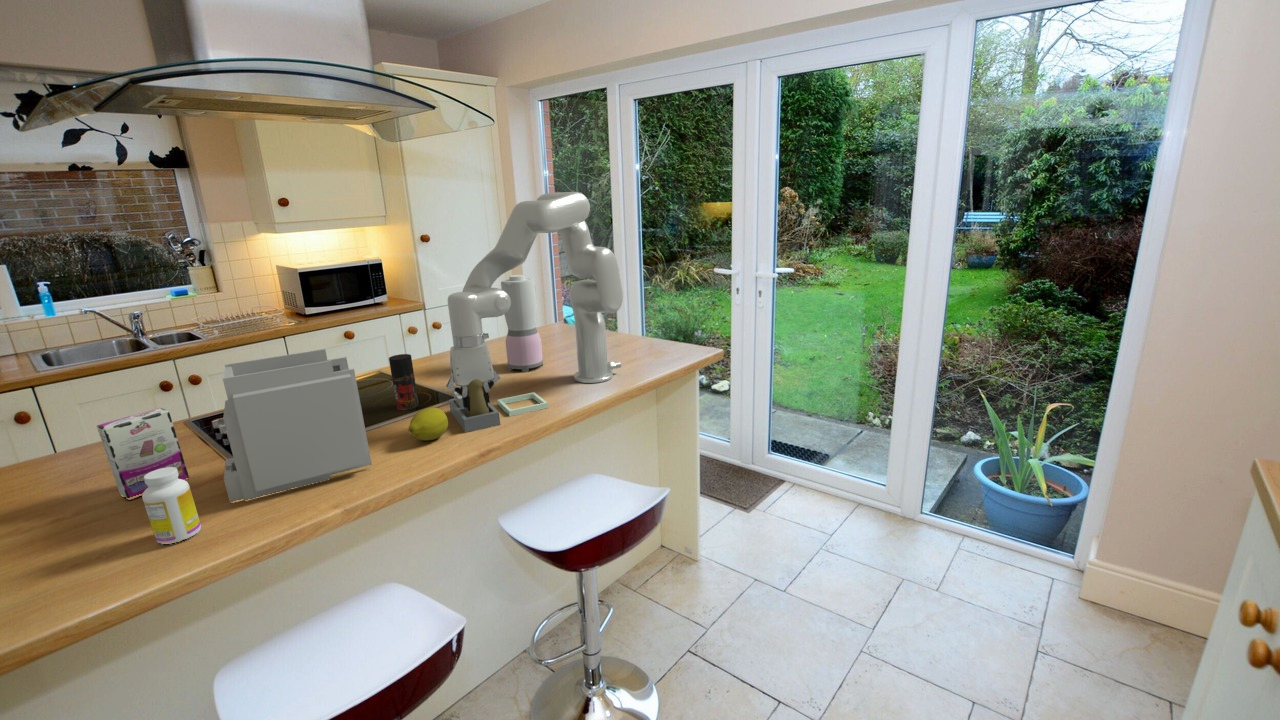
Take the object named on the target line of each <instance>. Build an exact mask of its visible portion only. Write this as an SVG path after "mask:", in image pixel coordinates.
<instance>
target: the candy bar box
mask: <svg viewBox="0 0 1280 720" xmlns="http://www.w3.org/2000/svg"><path fill="white" fill-rule="evenodd" d="M96 429H97V432H98V434H99V436H100V440H101V443H102V446H103V449H104V451H105V452H104V453H105V454H106V457H107V460H108V463H109V466H110V469H111V472H112V475H113V478H114V481H115V483H116V487H117V489H118V492H119V495H120V494H122V495H123V496H125V497H126V498H130V497H133V496H136V495H139V494H142V493H143V492H144V491H145V490H146V489H147V488H148V486H147V484H145V481H144V476H145V475H146V474H148V473H150V472H152V471H154V470H157V469H161V468H167V467H175V468H177V471H178V473H179V475H178V479H182V480H184V479H186V478H189V479H190V476H189V472H188V469H187V466H186V462H185V459H184V456H183V452H182V450H181V447H180V443H179V440H178V436H177V432H176V430H175V426H174V423H173V420H172V417H171V412H170V411H169V410H167V409H164V408H163V407H158V408H155V409H151V410H147V411H144V412H141V413H136V414H131V415H130V416H129V415H128V416H126V417H121V418H119V419H115V420H111V421H109V422H108V421H107V422H103V423H101V424H98V425H96Z"/></svg>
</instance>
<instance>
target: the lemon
mask: <svg viewBox="0 0 1280 720" xmlns="http://www.w3.org/2000/svg"><path fill="white" fill-rule="evenodd" d="M448 427H449V421H448V417H447V415H446V412H444V411H443V410H442V409H440V408H438V407H427V408H423V409H421V410H420V411H418V412H417V413H416V414H414V416H413V417H412V418H411V420H410V423H409V426H408V432H409V433H410V435H411V436H413V437H414V438H415V439H418V440H420V441H433V440H436V439H438V438H440V437H441V436H442V435H444V434H445V432H446V431H447V429H448Z"/></svg>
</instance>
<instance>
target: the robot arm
mask: <svg viewBox="0 0 1280 720" xmlns="http://www.w3.org/2000/svg"><path fill="white" fill-rule="evenodd" d="M590 211H591V204H590V200H589V199H588V198H587V196H586V195H584V194H583V193H582V192H579V191H565V192H563V191H561V192H557V191H556V192H547V193H543V194H541V195H540V196H539V197H537V199H536V200H525V201H520V202H518V203H517V204H516V205H515V206H514V207H513V209H512V210H511V213H510V215H509V217H508V219H507V221H506V224H505V225H504V228H503V229H502V233H501V235H500V236H499V238H498V240H497V243H496V245H495V247H494V248H493V249H492V250H491V251H489V252H488V253H487V254H486V255H485V256H484V257H483V258H482V259H481V260H480V261H479V262H478V263H477V264H476V265H475V266H474V268H473V269H472V270H471V272H470V273H469V275H468V277H467V279H466V282H465V283H464V286H463V288H462V291H458V292H453V293H451V294H449V295H448V297H447V307H448V315H449V321H450V329H451V335H452V336H451V337H452V345H453V346H451V347H450V350H449V362H450V363H449V364H450V366H449V367H450V378H449V379H448V382H447V383H446V385H445V387H446V389H447V390H450V391H453V392H457V393H458V394H460V395H461V396H462V400H463V406H464V408H466V407H467V409H468V411H470V398H469V397H468V394H467V385H469V383H470V382H471V381H472V380H475V379H479V380H481V381H482V382H484V384H483V391H484V398H485V401H486V405H487V407H488V403H490V392H491V389H492V388H493V387H494V385H495V383H497V382H498V381H499V380H500V379H501V376H500V375H499V373H497V371H496V370H495V369H494V368H493V363H492V358H491V353H490V350H489V347H488V344H487V342H485V341H486V340H487V339H490V336H489V335H490V334H489V333H485V332H483V331H484V330H483V324H482V320H483V319H485V318H486V319H487V318H498V317H501V316H505V315H504V314H505V313H506V312H507V311H508V310H509V308H510V305H511V299H510V297H509V295H508V294H507V293H506V292H505V291H504V290H501V288H498V287H492V286H493V284H494V283H495V282H496V280H497V279H499V278H500V277H501V276H502V275H503V274H506V273H507V272H509V271H511V270H514V269H516V268H517V267H520V265H522V264H524V263H525V262H526V260H527V258H528V256H529V253H530V252H531V248H532V247H533V244H534V242H535V240H536V238H537V236H538V234H552V233H557V232H558V233H559V235H560V237H561V240H562V245H563V249H564V253H565V259H566V263H567V267H568V270H569V273H570V274H571V275H572V276H574V277H576V278H581V279H582V280H578V281H576V282H574V283H573V285H572V286H571V287H570V291H569V300H570V301H569V302H570V304H571V308H572V312H573V318H574V319H573V320H574V328H575V341H576V343H575V344H576V355H577V358H576V359H577V369H578V370H577V372H575V373H574V374H573V379H574V381H576V382H578V383H582V384H583V383H585V384H596V383H602V382H606V381H607V382H608V380H611V379H612V378H613V376H614V373H613V370H615V369H621V368H622V363H621V362H620V361H618V362H614V361H610V362H609V361H608V354H607V353H608V352H607V351H608V350H607V348H608V347H607V337H606V336H607V335H606V334H607V333H606V332H607V331H606V322H605V318H604V315H603V314H613V313H614V314H615V313H616V312H618V311H619V310H620V309H621V308H622V305H623V299H624V295H623V286H622V281H621V277H620V276H621V275H620V269H619V264H618V259H617V257H616V255H615V254H614V251H612V250H611V248H608V247H604V246H596V245H594V244H593V240H592V238H591V233H590V229H589V227H588V224H587V222H586V220H587V218H588V217H589V214H590ZM583 278H584V279H583ZM591 279H592V280H591ZM593 279H594V280H593ZM490 404H491V403H490Z"/></svg>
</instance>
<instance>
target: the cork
mask: <svg viewBox="0 0 1280 720" xmlns="http://www.w3.org/2000/svg"><path fill="white" fill-rule="evenodd" d="M483 384H484V382H482V381H481V380H479V379H475V380H472V381H471V382H470V383H469V385H467V394H468V397H469V398H470V411H468V409H467V407H466V417H472V416H476V415H481V414H486V413H489V409H488V407H487V405H486V401H485V398H484V391H483Z"/></svg>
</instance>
